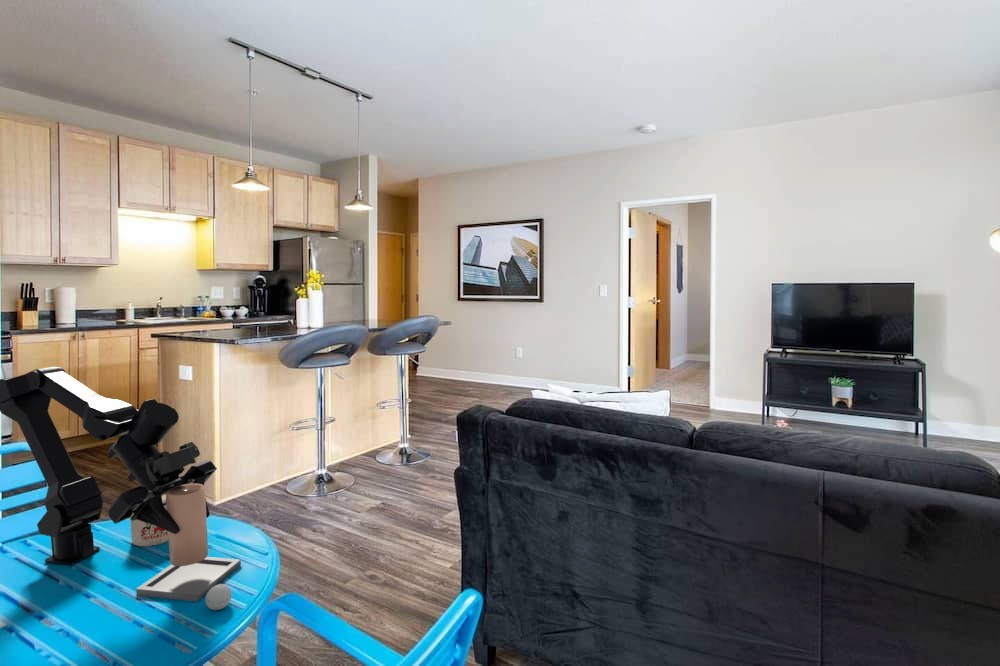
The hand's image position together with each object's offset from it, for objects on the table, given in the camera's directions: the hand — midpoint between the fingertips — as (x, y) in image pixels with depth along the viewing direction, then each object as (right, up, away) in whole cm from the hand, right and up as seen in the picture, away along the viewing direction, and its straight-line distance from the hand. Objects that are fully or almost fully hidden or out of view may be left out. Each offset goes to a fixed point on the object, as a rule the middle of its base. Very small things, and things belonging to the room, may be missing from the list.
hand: (193, 524), depth 99 cm
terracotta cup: (-1, -7, +1) cm, 7 cm away
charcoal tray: (-1, -11, +1) cm, 11 cm away
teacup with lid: (-18, -9, +19) cm, 28 cm away
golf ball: (+9, -12, -7) cm, 16 cm away
